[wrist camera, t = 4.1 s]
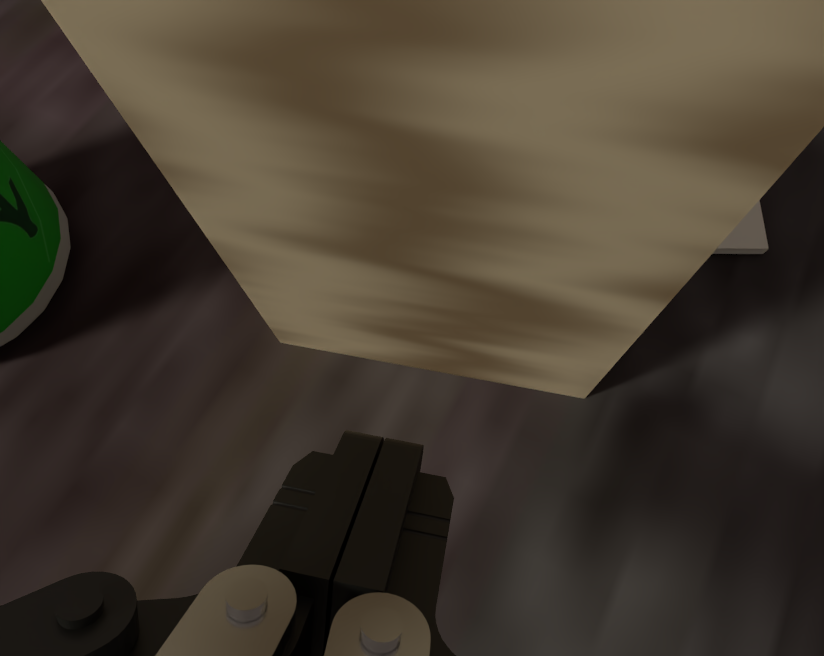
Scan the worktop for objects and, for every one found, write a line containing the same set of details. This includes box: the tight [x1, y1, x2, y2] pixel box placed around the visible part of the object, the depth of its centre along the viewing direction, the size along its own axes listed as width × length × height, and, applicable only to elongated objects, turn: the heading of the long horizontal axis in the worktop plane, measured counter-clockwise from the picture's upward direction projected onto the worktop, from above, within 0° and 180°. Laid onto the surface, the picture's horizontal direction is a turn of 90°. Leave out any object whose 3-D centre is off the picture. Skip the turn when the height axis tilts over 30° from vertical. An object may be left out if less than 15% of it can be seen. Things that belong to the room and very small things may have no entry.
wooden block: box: [41, 0, 824, 399], centre depth 14 cm, size 10×3×15 cm, turn 79°
